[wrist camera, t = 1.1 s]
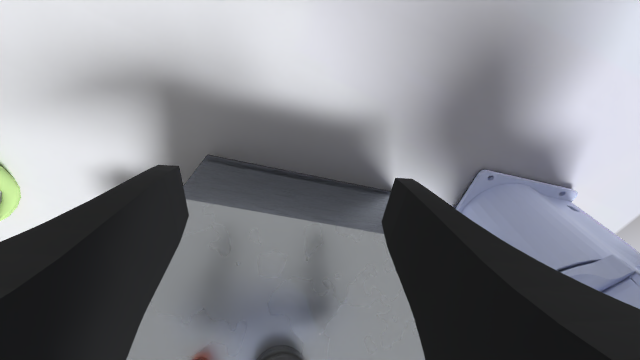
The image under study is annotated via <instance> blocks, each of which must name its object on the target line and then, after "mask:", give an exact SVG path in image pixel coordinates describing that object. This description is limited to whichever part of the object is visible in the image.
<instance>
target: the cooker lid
mask: <svg viewBox="0 0 640 360" xmlns="http://www.w3.org/2000/svg"><path fill="white" fill-rule="evenodd" d="M186 203H187V208H188V212H189V217H188V220H187V223H186V227H185V230H184V233H183V235H182V238H181V241H180V243H179V246H178V248H177V250H176V252H175V254H174V256H173V258H172V260H171V262H170V264H169V266H168V268H167V270H166V272H165V274H164V276H163V278H162V280H161V282H160V284H159V286H158V288H157V290H156V292H155V294H154V296H153V298H152V300H151V302H150V304H149V306H148V308H147V310H146V312H145V314H144V316H143V319H142V321H141V323H140V326H139V328H138V331H137V333H136V336H135V339H134V341H133V344H132V346H131V349H130V352H129V354H128V357H127V359H126V360H425V356H424V352H423V349H422V345H421V341H420V338H419V334H418V331H417V327H416V323H415V320H414V317H413V314H412V311H411V308H410V305H409V302H408V300H407V297H406V295H405V292H404V289H403V287H402V284H401V282H400V279H399V277H398V274H397V271H396V269H395V266H394V264H393V261H392V258H391V256H390V253H389V250H388V247H387V244H386V240H385V236H384V234H380V233H375V232H369V231H363V230H358V229H352V228H346V227H341V226H335V225H329V224H324V223H318V222H312V221H307V220H301V219H295V218H290V217H284V216H278V215H273V214H267V213H261V212H256V211H250V210H244V209H239V208H233V207H227V206H222V205H216V204H210V203H205V202H199V201H193V200H188V199H186Z"/></svg>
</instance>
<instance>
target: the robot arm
mask: <svg viewBox="0 0 640 360" xmlns="http://www.w3.org/2000/svg"><path fill="white" fill-rule="evenodd" d="M489 176H491V177H490V178H488V177H489ZM577 194H578V193H577V192H576V191H575V190H573V189H570V188H565V187H561V186H556V185H552V184H547V183H543V182H538V181H534V180H529V179H525V178H521V177H516V176H512V175H507V174H503V173H498V172H494V171H489V170H482V171H480V172H479V173H478V174H477V176H476V177H475V179H474V181H473V182H472V184H471V185H470V187H469V188H468V190H467V192H466V193H465V195H464V196H463V198H462V199H461V201H460V202H459V204H458V206H457V207H456V209H455V208H453V207H452V206H451V205H449V204H448V203H446V202H445V201H444V200H442V199H441V198H440V197H438V196H437V195H435V194H434V193H433V192H431V191H430V190H428V189H427V188H425V187H424V186H423V185H421V184H420V183H418V182H416V181H415V180H413V179H404V178H395V181H394V184H393V187H392V190H391V193H390V196H389V199H388V203H387V206H386V209H385V212H384V215H383V218H382V221H381V222H382V227H383V231H384V236H385V240H386V244H387V247H388V250H389V253H390V256H391V258H392V261H393V264H394V266H395V269H396V271H397V274H398V277H399V279H400V282H401V284H402V287H403V289H404V292H405V295H406V297H407V300H408V302H409V305H410V308H411V311H412V314H413V317H414V320H415V323H416V327H417V331H418V334H419V338H420V341H421V345H422V349H423V352H424V356H425V360H640V253H639V252H638V251H637V250H636V249H634V248H633V247H632V246H631V245H629V244H628V243H626V242H625V241H624V240H622V239H621V238H620V237H618V236H617V235H616V234H614V233H613V232H611V231H610V230H609V229H607V228H606V227H605V226H603V225H602V224H601V223H599V222H598V221H596V220H595V219H594V218H592V217H591V216H590V215H588V214H587V213H585V212H584V211H583V210H581V209H580V208H579V207H577V206H576V205H574V204H573V203H572V201H573V200H574V199H575V198H576V196H577ZM188 217H189V212H188V208H187V203H186V198H185V193H184V188H183V183H182V178H181V174H180V169H179V166H167V165H157V166H155V167H153V168H151V169H149V170H147V171H145V172H143V173H141V174H139V175H137V176H135V177H133V178H131V179H129V180H127V181H126V182H124V183H122V184H120V185H118V186H116V187H114V188H113V189H111V190H109V191H107V192H105V193H103V194H101V195H99V196H97V197H96V198H94V199H92V200H90V201H88V202H86V203H84V204H82V205H80V206H78V207H76V208H74V209H72V210H70V211H67V212H65V213H63V214H61V215H59V216H57V217H55V218H53V219H51V220H49V221H47V222H45V223H43V224H41V225H38V226H36V227H34V228H32V229H29V230H27V231H25V232H23V233H20V234H18V235H16V236H13V237H11V238H9V239H6V240H4V241H1V242H0V360H126V359H127V357H128V354H129V352H130V349H131V346H132V344H133V341H134V339H135V336H136V333H137V331H138V328H139V326H140V323H141V321H142V319H143V316H144V314H145V312H146V310H147V308H148V306H149V304H150V302H151V300H152V298H153V296H154V294H155V292H156V290H157V288H158V286H159V284H160V282H161V280H162V278H163V276H164V274H165V272H166V270H167V268H168V266H169V264H170V262H171V260H172V258H173V256H174V254H175V252H176V250H177V248H178V246H179V243H180V241H181V238H182V235H183V233H184V230H185V227H186V223H187V220H188Z"/></svg>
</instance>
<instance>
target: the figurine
mask: <svg viewBox="0 0 640 360" xmlns="http://www.w3.org/2000/svg"><path fill="white" fill-rule="evenodd" d="M0 191H1V192H2V201H1V203H0V221H1V220H3V219H5V218H7V217H8V216H9V215H11V213H12V212H13V211H14V210H15V209H16V208H17V206H18V204H19V201H20V198H21V195H20V188H19V186H18V184H17V183H16V181H15V180H14V178H13V177H12V176H11V175H10V174H9V173H8V172H7V171H6V170H5V169H4V168H3V167H1V166H0Z"/></svg>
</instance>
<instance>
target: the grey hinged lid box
mask: <svg viewBox="0 0 640 360" xmlns="http://www.w3.org/2000/svg"><path fill="white" fill-rule="evenodd" d="M183 188H184V193H185V198H186V199H188V200H193V201H199V202H205V203H210V204H216V205H222V206H227V207H233V208H239V209H244V210H250V211H256V212H261V213H267V214H273V215H278V216H284V217H290V218H295V219H301V220H307V221H312V222H318V223H324V224H329V225H335V226H341V227H346V228H352V229H358V230H363V231H369V232H375V233H380V234H384V231H383V227H382V222H381V221H382V218H383V215H384V212H385V209H386V206H387V203H388V199H389V196H390V193H391V191H386V190H381V189H376V188H371V187H366V186H361V185H356V184H351V183H346V182H341V181H336V180H331V179H326V178H321V177H316V176H311V175H306V174H301V173H296V172H291V171H286V170H281V169H276V168H271V167H266V166H261V165H256V164H251V163H246V162H241V161H236V160H231V159H226V158H221V157H216V156H211V155H207V156H206V157H205V159H204V160H203V161H202V163H201V164H200V165H199V167H198V168H197V169H196V170H195V172H194V173H193V174H192V176H191V177H190V178H189V179H188V181H187V182H186V183H185V185H184V186H183Z"/></svg>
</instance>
